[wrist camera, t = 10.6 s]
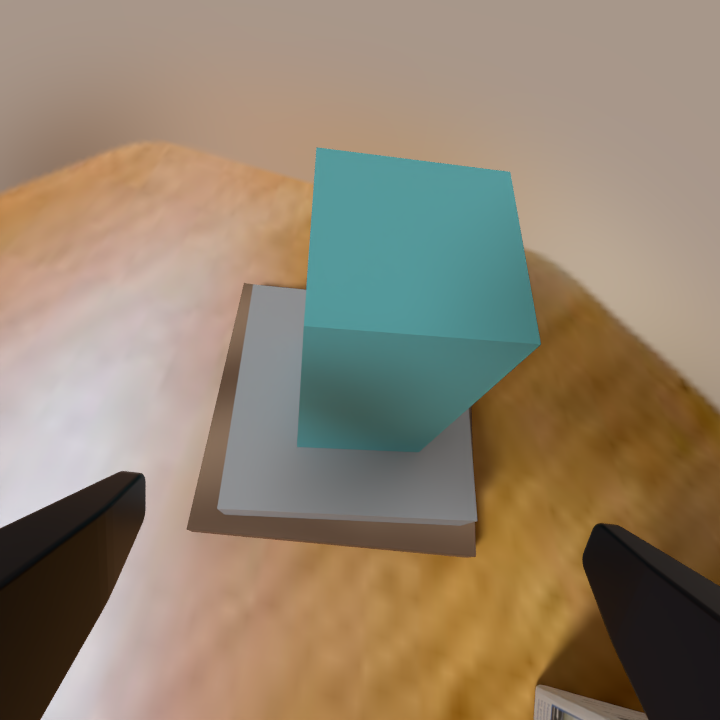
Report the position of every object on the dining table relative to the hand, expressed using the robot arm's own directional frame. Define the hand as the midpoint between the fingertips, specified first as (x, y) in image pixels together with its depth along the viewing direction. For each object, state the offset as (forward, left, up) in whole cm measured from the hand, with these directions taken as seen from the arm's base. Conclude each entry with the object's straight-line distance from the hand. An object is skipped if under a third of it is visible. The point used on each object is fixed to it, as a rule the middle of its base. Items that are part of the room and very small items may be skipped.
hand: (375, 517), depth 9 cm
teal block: (+2, -6, -9) cm, 11 cm away
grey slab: (+2, -6, -11) cm, 12 cm away
